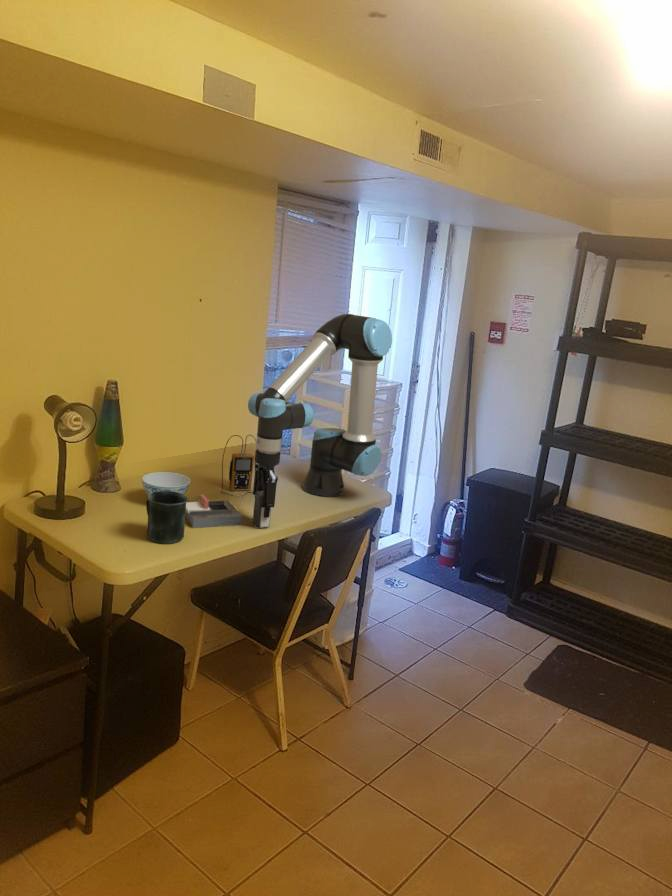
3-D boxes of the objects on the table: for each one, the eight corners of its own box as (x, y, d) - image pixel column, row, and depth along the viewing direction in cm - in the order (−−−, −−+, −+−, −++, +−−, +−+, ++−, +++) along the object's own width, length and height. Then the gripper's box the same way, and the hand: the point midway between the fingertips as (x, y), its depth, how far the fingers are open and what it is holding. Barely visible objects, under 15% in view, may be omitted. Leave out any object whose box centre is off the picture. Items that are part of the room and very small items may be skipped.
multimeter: (225, 498, 233) (229, 441, 228) (218, 488, 242) (223, 433, 237) (267, 498, 239) (272, 442, 234) (259, 488, 248) (264, 434, 243)
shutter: (203, 503, 217) (204, 493, 216) (209, 511, 211) (210, 501, 210) (182, 504, 214) (182, 494, 213) (187, 512, 208) (188, 502, 207)
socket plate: (227, 508, 224) (228, 498, 223) (241, 525, 212) (242, 514, 211) (181, 511, 217) (181, 500, 216) (192, 528, 205) (193, 516, 204)
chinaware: (139, 509, 215) (140, 485, 213) (142, 493, 229) (143, 470, 227) (188, 511, 218) (190, 487, 216) (188, 495, 232) (190, 473, 230)
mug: (161, 548, 189) (163, 507, 186) (130, 531, 197) (132, 491, 194) (193, 540, 197) (196, 500, 194) (162, 523, 206) (164, 485, 203)
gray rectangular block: (264, 522, 216) (267, 490, 214) (269, 527, 213) (272, 494, 210) (252, 523, 215) (255, 490, 212) (256, 528, 211) (260, 495, 208)
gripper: (246, 442, 214) (240, 513, 220) (267, 459, 198) (259, 534, 204) (269, 442, 217) (262, 512, 223) (291, 458, 202) (283, 533, 208)
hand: (261, 522), depth 214 cm, fingers open, 5 cm apart
